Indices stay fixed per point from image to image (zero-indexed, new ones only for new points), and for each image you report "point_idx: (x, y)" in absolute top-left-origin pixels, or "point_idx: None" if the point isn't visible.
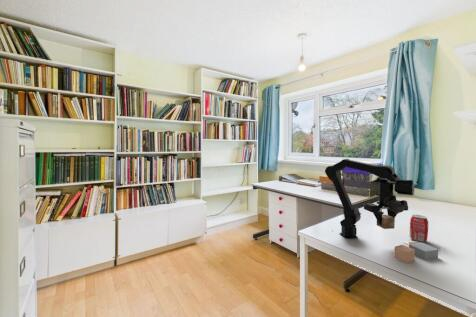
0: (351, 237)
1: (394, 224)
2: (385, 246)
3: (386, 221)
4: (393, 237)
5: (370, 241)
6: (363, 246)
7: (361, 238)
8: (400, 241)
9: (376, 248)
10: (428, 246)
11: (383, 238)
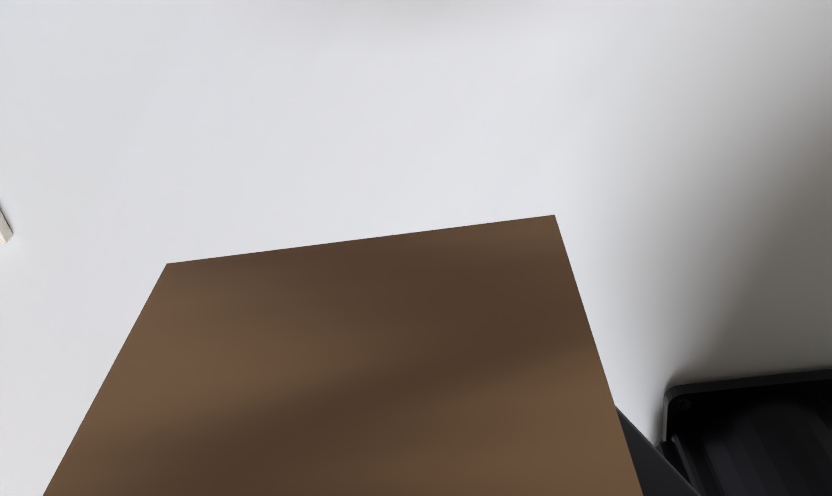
0: (787, 385)
1: (115, 360)
2: (400, 112)
3: (517, 438)
4: (92, 397)
5: None
6: (806, 114)
7: (613, 375)
8: (42, 281)
9: (623, 34)
10: None
11: None
